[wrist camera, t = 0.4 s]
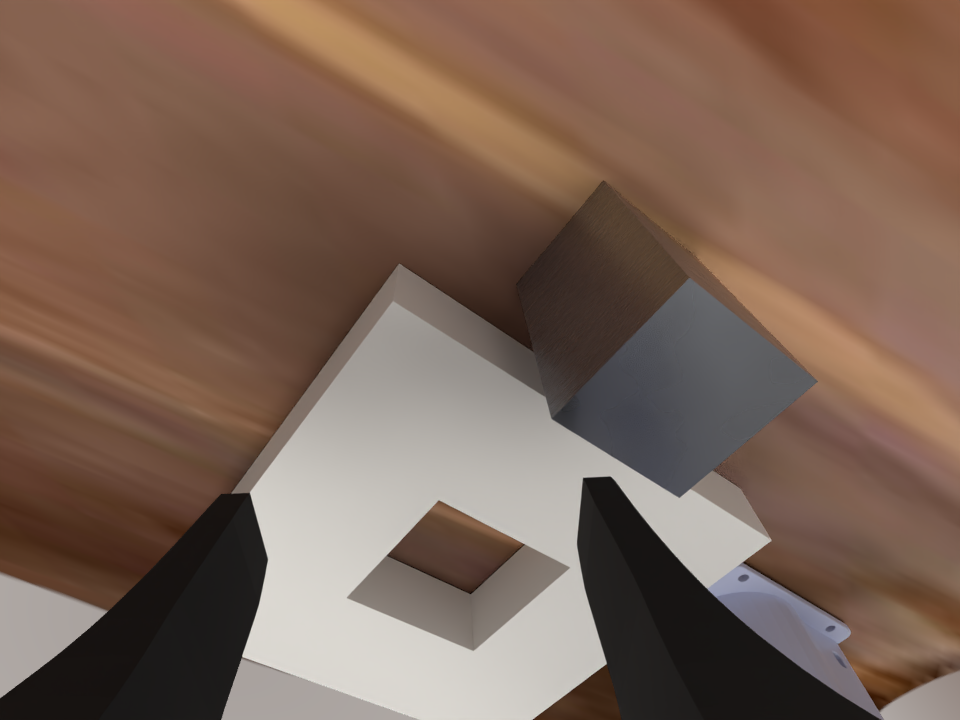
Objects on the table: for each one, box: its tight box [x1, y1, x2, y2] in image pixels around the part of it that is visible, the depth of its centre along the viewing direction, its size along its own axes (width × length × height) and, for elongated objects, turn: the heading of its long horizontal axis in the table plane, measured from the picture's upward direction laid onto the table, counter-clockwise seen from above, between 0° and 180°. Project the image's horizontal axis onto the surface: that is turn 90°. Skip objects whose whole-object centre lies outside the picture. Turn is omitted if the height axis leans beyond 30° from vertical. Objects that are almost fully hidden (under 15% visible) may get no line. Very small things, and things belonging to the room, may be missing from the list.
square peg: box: [516, 180, 818, 498], centre depth 18 cm, size 4×4×8 cm
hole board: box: [231, 264, 772, 720], centre depth 26 cm, size 18×18×3 cm
